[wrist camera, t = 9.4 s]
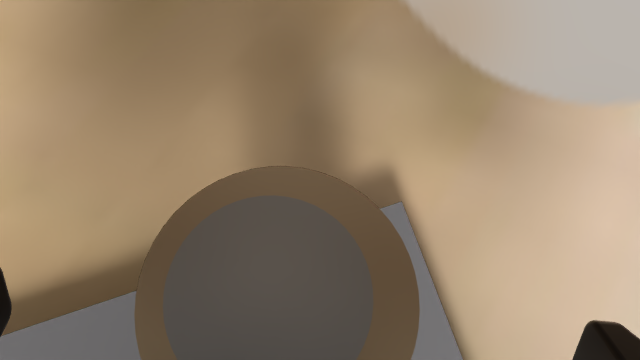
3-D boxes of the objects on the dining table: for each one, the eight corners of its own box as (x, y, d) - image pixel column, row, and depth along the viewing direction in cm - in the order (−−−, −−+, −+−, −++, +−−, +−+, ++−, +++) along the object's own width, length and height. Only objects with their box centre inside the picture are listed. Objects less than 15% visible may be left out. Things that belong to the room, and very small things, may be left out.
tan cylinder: (365, 387, 16) (461, 520, 5) (243, 380, 16) (47, 497, 5) (369, 263, 17) (455, 127, 6) (252, 258, 17) (108, 112, 6)
